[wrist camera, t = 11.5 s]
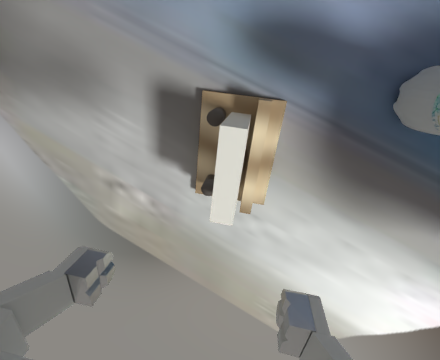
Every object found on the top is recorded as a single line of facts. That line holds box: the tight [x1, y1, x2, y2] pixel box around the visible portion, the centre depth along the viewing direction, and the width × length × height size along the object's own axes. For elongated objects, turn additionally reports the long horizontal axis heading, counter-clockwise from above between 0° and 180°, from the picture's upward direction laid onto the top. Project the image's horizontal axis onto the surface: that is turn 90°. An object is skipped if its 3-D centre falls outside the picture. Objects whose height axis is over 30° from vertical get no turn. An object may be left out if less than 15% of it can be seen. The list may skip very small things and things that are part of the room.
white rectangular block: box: [210, 112, 251, 226], centre depth 25 cm, size 10×2×9 cm, turn 174°
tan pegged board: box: [195, 90, 287, 214], centre depth 28 cm, size 14×10×4 cm
